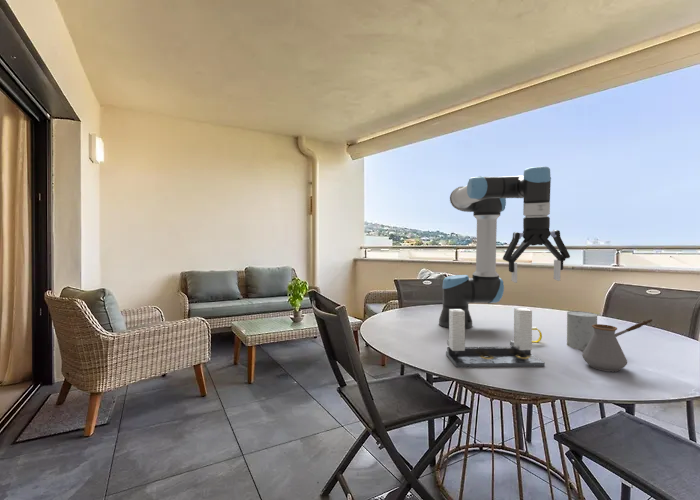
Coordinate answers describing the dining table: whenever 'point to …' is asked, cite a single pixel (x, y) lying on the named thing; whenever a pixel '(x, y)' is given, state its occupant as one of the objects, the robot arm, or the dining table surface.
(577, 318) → the grey concrete cylinder
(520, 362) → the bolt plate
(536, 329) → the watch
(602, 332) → the coffee pot
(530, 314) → the fixed leg
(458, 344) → the block
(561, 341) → the dining table surface
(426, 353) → the dining table surface
